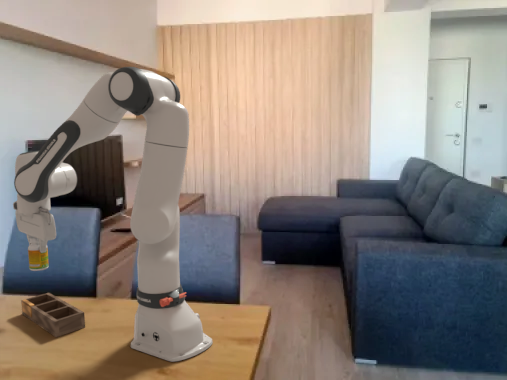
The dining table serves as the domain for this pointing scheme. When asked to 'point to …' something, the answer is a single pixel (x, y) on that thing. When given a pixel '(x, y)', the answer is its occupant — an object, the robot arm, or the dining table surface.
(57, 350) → the dining table surface
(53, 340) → the dining table surface
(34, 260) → the supplement bottle
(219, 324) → the dining table surface
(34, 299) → the box
